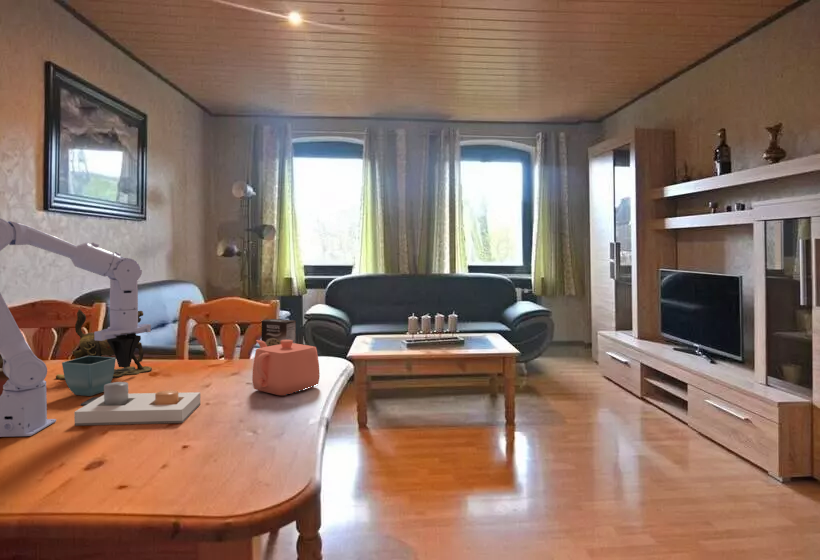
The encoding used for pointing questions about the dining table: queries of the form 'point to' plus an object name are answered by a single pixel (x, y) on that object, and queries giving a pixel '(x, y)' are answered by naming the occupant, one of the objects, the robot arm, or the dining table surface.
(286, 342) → the teapot
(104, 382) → the flower pot
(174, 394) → the tan button
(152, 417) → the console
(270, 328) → the coffee box
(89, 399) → the mat
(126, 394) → the grey button
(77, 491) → the dining table surface
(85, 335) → the figurine
